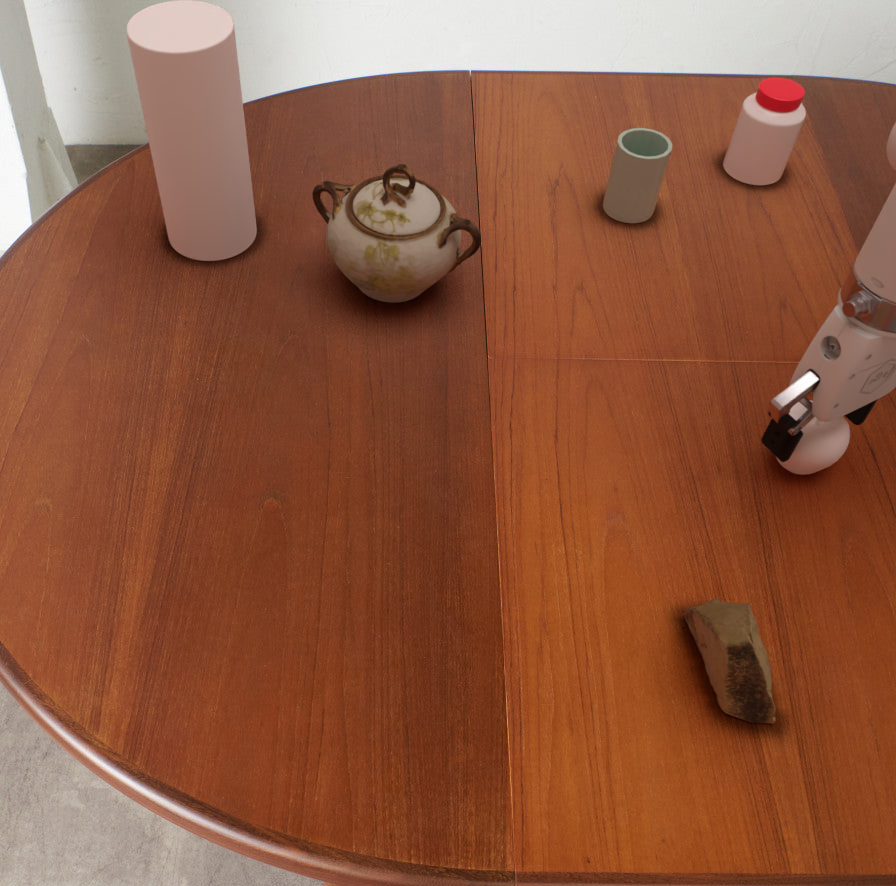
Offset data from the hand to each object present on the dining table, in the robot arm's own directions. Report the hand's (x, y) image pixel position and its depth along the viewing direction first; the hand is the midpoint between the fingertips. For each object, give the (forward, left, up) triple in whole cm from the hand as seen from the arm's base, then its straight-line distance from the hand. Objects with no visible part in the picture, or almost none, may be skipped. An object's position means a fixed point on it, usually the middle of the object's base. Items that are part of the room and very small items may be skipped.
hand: (811, 432), depth 91 cm
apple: (0, 0, -4) cm, 4 cm away
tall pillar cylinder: (+37, -61, -4) cm, 71 cm away
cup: (-11, -41, -4) cm, 43 cm away
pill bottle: (-31, -40, -4) cm, 51 cm away
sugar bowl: (+22, -43, -4) cm, 48 cm away
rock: (+22, +14, -4) cm, 26 cm away
